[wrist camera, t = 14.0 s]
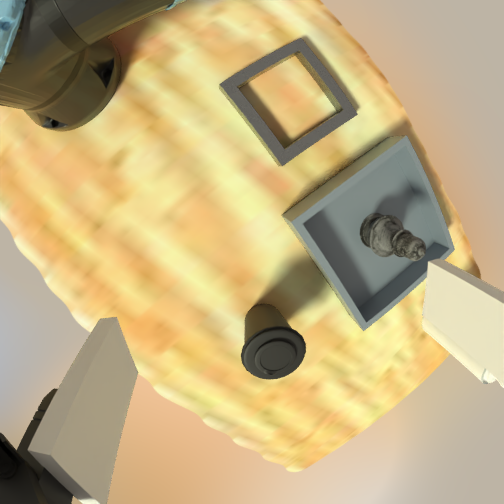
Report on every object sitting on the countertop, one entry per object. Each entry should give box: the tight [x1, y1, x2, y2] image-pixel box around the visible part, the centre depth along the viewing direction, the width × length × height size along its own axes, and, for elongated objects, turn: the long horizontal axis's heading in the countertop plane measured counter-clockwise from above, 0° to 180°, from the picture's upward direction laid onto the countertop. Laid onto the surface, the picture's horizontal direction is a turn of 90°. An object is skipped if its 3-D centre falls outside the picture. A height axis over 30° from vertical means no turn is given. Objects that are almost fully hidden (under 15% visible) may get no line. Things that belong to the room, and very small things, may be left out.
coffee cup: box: [241, 304, 306, 379], centre depth 38 cm, size 8×8×10 cm
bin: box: [282, 135, 455, 331], centre depth 39 cm, size 20×20×5 cm
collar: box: [219, 38, 358, 166], centre depth 34 cm, size 13×13×2 cm
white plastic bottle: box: [422, 316, 504, 388], centre depth 36 cm, size 7×7×25 cm
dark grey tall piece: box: [360, 213, 426, 261], centre depth 34 cm, size 6×6×12 cm
